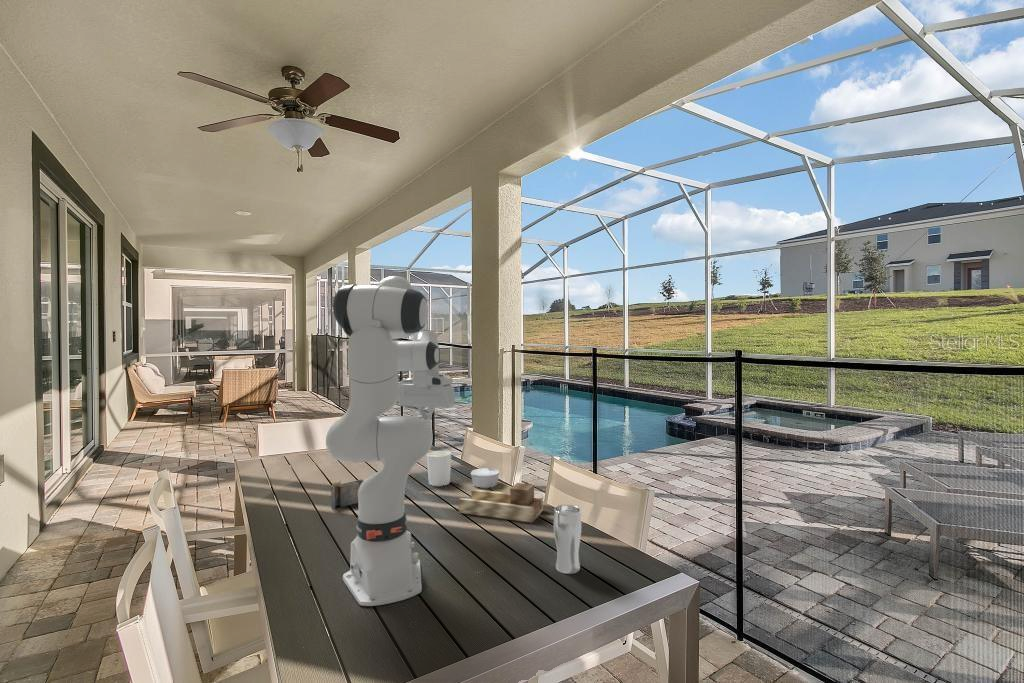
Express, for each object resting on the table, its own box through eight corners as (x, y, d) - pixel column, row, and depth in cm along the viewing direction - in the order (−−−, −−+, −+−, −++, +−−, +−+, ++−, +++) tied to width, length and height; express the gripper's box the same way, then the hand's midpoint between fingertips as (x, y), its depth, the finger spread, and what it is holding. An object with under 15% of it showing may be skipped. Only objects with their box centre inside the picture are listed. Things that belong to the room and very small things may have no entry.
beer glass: (574, 577, 115) (574, 516, 115) (549, 570, 119) (548, 510, 119) (586, 565, 121) (585, 507, 121) (561, 559, 125) (560, 502, 125)
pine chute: (458, 512, 159) (458, 499, 159) (473, 501, 170) (473, 489, 169) (532, 522, 150) (532, 508, 150) (543, 510, 160) (542, 497, 160)
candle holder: (456, 481, 193) (456, 452, 193) (440, 488, 185) (440, 457, 185) (438, 478, 198) (437, 449, 198) (421, 484, 190) (421, 454, 190)
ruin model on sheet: (334, 510, 164) (334, 482, 164) (331, 508, 166) (331, 480, 166) (366, 502, 172) (365, 475, 171) (362, 500, 174) (361, 473, 174)
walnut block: (510, 512, 155) (510, 488, 155) (517, 506, 161) (517, 482, 161) (527, 515, 153) (527, 490, 153) (534, 508, 159) (533, 484, 159)
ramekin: (505, 484, 189) (505, 471, 189) (484, 491, 181) (484, 477, 181) (485, 479, 197) (485, 466, 197) (465, 485, 189) (465, 472, 189)
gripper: (394, 379, 160) (394, 420, 160) (447, 380, 152) (448, 423, 152) (404, 377, 166) (405, 417, 166) (457, 378, 158) (457, 420, 158)
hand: (426, 420), depth 159 cm, fingers closed
